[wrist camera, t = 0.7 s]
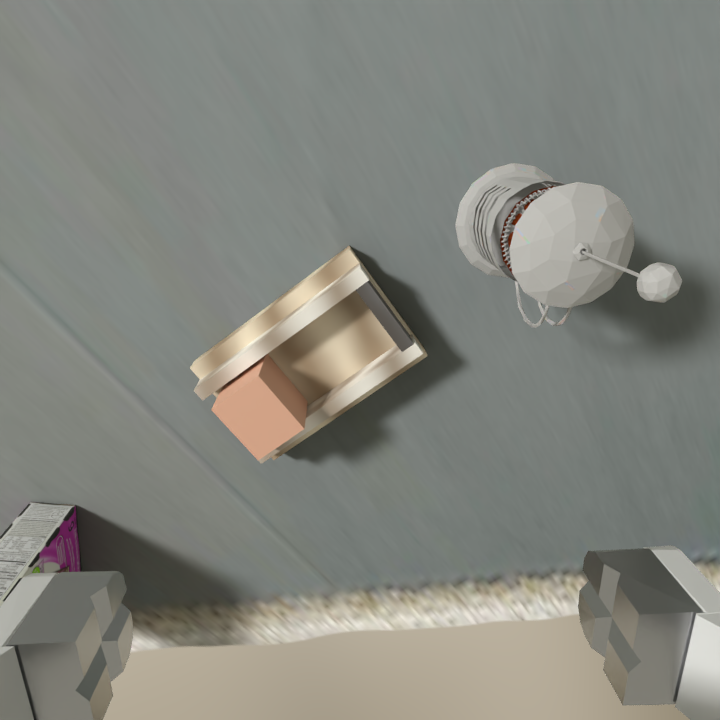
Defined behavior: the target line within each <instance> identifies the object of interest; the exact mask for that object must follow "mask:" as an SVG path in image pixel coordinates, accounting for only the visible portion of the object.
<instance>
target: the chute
mask: <svg viewBox="0 0 720 720" xmlns="http://www.w3.org/2000/svg"><path fill="white" fill-rule="evenodd" d="M266 354H268V355H269V356H270V357H271V359H272V360H273V361H274V362H275V363H276V365H277V366H278V367H279V368H280V369H281V370H282V372H283V373H284V374H285V375H286V376H287V377H288V379H289V380H290V381H291V382H292V383H293V385H294V386H295V387H296V388H297V389H298V390H299V392H300V393H301V394H302V395H303V396H304V398H305V399H306V400H307V401H308V404H307V412H306V420H305V428H304V430H302V431H301V432H299V433H298V434H296V435H295V436H293V437H292V438H290V439H289V440H288V441H286V442H285V443H283V444H282V445H280V446H279V447H277V448H276V449H274V450H273V451H271V452H270V453H268V454H267V455H266V456H264V457H263V458H261V459H260V460H258V461H259V462H260V463H261V464H262V463H263V462H265V461H266V460H268V459H269V458H272V459H273V460H275V459H277V458H278V457H279V456H281V455H282V454H284V453H285V452H287V451H288V450H290V449H291V448H293V447H294V446H296V445H297V444H299V443H300V442H302V441H303V440H305V439H306V438H307V437H309V436H310V435H312V434H313V433H315V432H316V431H318V430H319V429H321V428H322V427H324V426H325V425H327V424H328V423H330V422H331V421H333V420H334V419H335V418H337V417H338V416H340V415H341V414H343V413H344V412H346V411H347V410H349V409H350V408H352V407H353V406H355V405H356V404H358V403H359V402H361V401H362V400H364V399H365V398H366V397H368V396H369V395H371V394H372V393H374V392H375V391H377V390H378V389H380V388H381V387H383V386H384V385H386V384H387V383H389V382H390V381H392V380H393V379H394V378H396V377H397V376H399V375H400V374H402V373H403V372H405V371H406V370H408V369H409V368H411V367H412V366H414V365H415V364H417V363H418V362H420V361H421V360H422V359H424V358H425V357H427V356H428V355H427V353H426V351H425V348H424V347H423V346H422V344H421V343H420V342H419V340H418V339H417V337H416V336H415V335H414V333H413V332H412V331H411V329H410V328H409V327H408V325H407V324H406V322H405V321H404V320H403V318H402V317H401V316H400V314H399V313H398V311H397V310H396V309H395V307H394V306H393V305H392V303H391V302H390V301H389V299H388V298H387V296H386V295H385V294H384V292H383V291H382V290H381V288H380V287H379V285H378V284H377V283H376V281H375V280H374V279H373V277H372V276H371V275H370V273H369V272H368V270H367V269H366V268H365V266H364V265H363V264H362V262H361V261H360V260H359V258H358V257H357V255H356V254H355V253H354V251H353V250H352V249H351V247H350V246H348V247H347V248H346V249H344V250H343V251H342V252H340V253H339V254H337V255H336V256H335V257H333V258H332V259H331V260H329V261H328V262H327V263H325V264H324V265H323V266H321V267H320V268H319V269H317V270H316V271H315V272H313V273H312V274H311V275H309V276H308V277H307V278H305V279H304V280H302V281H301V282H300V283H298V284H297V285H296V286H294V287H293V288H292V289H290V290H289V291H288V292H286V293H285V294H284V295H282V296H281V297H280V298H278V299H277V300H276V301H274V302H273V303H272V304H270V305H269V306H268V307H266V308H265V309H263V310H262V311H261V312H259V313H258V314H257V315H255V316H254V317H253V318H251V319H250V320H249V321H247V322H246V323H245V324H243V325H242V326H241V327H239V328H238V329H237V330H235V331H234V332H233V333H231V334H230V335H228V336H227V337H226V338H224V339H223V340H222V341H220V342H219V343H218V344H216V345H215V346H214V347H212V348H211V349H210V350H208V351H207V352H206V353H204V354H203V355H202V356H200V357H199V358H198V359H196V360H195V361H194V363H193V364H192V366H191V367H190V369H191V370H192V371H193V372H194V373H195V374H196V375H197V376H198V378H199V379H200V381H199V382H198V384H197V386H196V387H195V389H194V391H195V393H196V394H197V395H198V396H199V397H200V398H201V399H202V400H204V399H206V398H207V397H208V396H210V395H211V394H212V393H213V394H214V395H215V396H216V397H218V395H219V393H220V391H221V389H222V387H223V386H224V385H225V384H226V383H228V382H229V381H230V380H232V379H233V378H235V377H236V376H237V375H239V374H240V373H242V372H243V371H244V370H246V369H247V368H248V367H250V366H251V365H253V364H254V363H255V362H257V361H258V360H259V359H261V358H262V357H264V356H265V355H266Z"/></svg>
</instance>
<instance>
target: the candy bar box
mask: <svg viewBox="0 0 720 720" xmlns="http://www.w3.org/2000/svg"><path fill="white" fill-rule="evenodd" d="M60 572H81V563H80V552H79V540H78V529H77V518H76V506H75V505H68V504H48V503H34V502H30V503H29V504H28V505H27V507H26V508H25V509H24V510H23V511H22V512H21V513H20V515H19V516H18V517H17V518H16V519H15V520H14V521H13V522H12V524H11V525H10V526H9V527H8V528H7V529H6V531H5V532H4V533H3V534H2V535H1V536H0V606H1V605H2V604H3V603H4V601H5V600H6V599H7V597H8V596H9V595H10V594H11V592H12V591H13V590H14V588H15V587H16V586H17V584H18V583H19V582H20V581H21V579H22V578H23V577H25V576H27V575H29V574H31V573H60Z"/></svg>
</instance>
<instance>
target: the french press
mask: <svg viewBox="0 0 720 720" xmlns="http://www.w3.org/2000/svg"><path fill="white" fill-rule="evenodd" d="M455 226H456V231H457V237H458V242H459V247H460V248H461V250H462V251H463V253H464V254H465V256H466V257H467V259H468V260H469V262H470V263H471V264H472V265H473V266H475V267H477V268H478V269H480V270H481V271H483V272H485V273H486V274H488V275H494V276H501V277H508V278H509V277H510V278H511V279H513V280H515V284H516V292H517V301H518V307H519V310H520V312H521V314H522V316H523V318H524V321H525V322H527V323H528V324H529V325H530V326H531V327H538V326H539V325H540V324H541V323H542V322H543V321H544V319H545V320H546V321H548V322H549V323H550V324H551V325H553V326H559V325H561V324H563V323H564V322H565V321H566V319H567V318H568V317H569V315H570V312H571V309H572V307H574V306H578V305H582V304H586V303H590V302H592V301H594V300H595V299H597V298H598V297H600V296H601V295H603V294H604V293H606V292H607V291H609V290H610V289H611V288H612V287H613V286H614V285H615V283H616V282H617V281H618V279H619V278H620V277H621V275H622V274H623V273H624V271H625V272H627V273H629V274H632V275H634V276H636V277H638V280H637V291H638V293H639V294H640V296H641V297H642V298H644V299H645V300H647V301H654V302H661V303H663V302H666V301H668V300H669V299H671V298H672V297H674V296H675V295H677V294H678V292H679V289H680V286H681V283H682V279H681V277H680V275H679V273H678V271H677V269H676V268H675V267H674V266H673V265H669V264H666V263H659V262H658V263H654V264H650V265H649V266H648V267H646V268H645V269H644V270H642V271H641V272H640V273H637V272H635V271H632V270H630V269H627V266H628V263H629V260H630V257H631V254H632V251H633V248H634V244H635V243H634V229H633V219H632V217H631V215H630V214H629V212H628V210H627V208H626V206H625V205H624V203H623V201H622V199H620V198H619V197H617V196H616V195H615V194H613V193H612V192H610V191H609V190H607V189H606V188H605V187H603V186H599V185H593V184H587V183H581V182H576V183H572V184H567V185H566V184H564V183H562V182H556V181H554V179H553V178H552V177H550V176H549V175H547V174H546V173H544V172H543V171H541V170H540V169H538V168H537V167H535V166H529V165H523V164H516V163H512V164H508V165H504V166H501V167H497V168H493V169H491V170H489V171H488V172H487V173H485V174H484V175H483V176H481V177H480V178H479V179H477V180H476V181H475V182H473V183H472V185H471V186H470V188H469V189H468V191H467V193H466V194H465V196H464V197H463V199H462V201H461V202H460V205H459V210H458V215H457V220H456V225H455ZM518 283H519V285H520V286H521V288H522V289H523V291H524V293H526V294H528V295H529V296H531V297H533V298H534V299H536V300H537V301H538V305H539V308H540V310H541V313H542V315H543V316H542V318H541V319H540V321H539V322H538V323H537V324H532V323H531V322H530V320H529V319H528V318H527V317H526V315H525V313H524V310H523V308H522V304H521V299H520V294H519V285H518ZM542 304H544V305H546V307H545V311H544V309H543V307H542ZM549 306H556V307H563V308H568V309H567V313H566V315H565V316H564V317H563V319H562V320H561V321H559V322H553V321H552V320H550V319H549V318H548V316H547V312H548V308H549Z"/></svg>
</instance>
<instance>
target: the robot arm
mask: <svg viewBox="0 0 720 720" xmlns="http://www.w3.org/2000/svg"><path fill="white" fill-rule="evenodd" d="M583 571H584V573H585V575H586V576H587V578H588V580H589V581H588V582H587V583H586V584H585V586H584V587H583V588H582V589H581V590H580V593H579V604H578V608H579V615H580V622H581V625H582V628H583V632H584V634H585V637H586V639H587V641H588V642H589V644H590V646H591V648H593V649H594V650H595V651H597V652H598V653H599V654H601V655H602V656H604V657H605V662H604V669H603V670H604V672H605V674H606V676H607V677H608V679H609V681H610V683H611V685H612V687H613V688H614V690H615V692H616V694H617V696H618V697H619V699H620V701H621V703H622V705H659V704H676V705H675V707H676V708H677V709H678V710H680V711H681V712H682V713H683V714H684V715H686V716H687V717H688V718H689V719H690V720H720V592H719V591H718V590H717V589H716V588H715V587H714V586H713V585H712V584H711V583H710V582H709V580H708V579H707V578H706V577H705V576H704V575H703V574H702V573H701V572H700V571H699V570H698V569H697V568H696V566H695V565H694V564H693V563H692V562H691V561H690V560H689V559H688V558H687V557H686V556H685V555H684V553H683V552H682V551H681V550H680V549H678V548H676V547H674V546H672V545H671V546H657V547H644V548H638V549H618V550H597V551H588V552H587V554H586V556H585V558H584V564H583ZM126 591H127V589H126V584H125V580H124V576H123V574H122V573H120V572H119V571H91V572H60V573H31V574H29V575H27V576H25V577H23V578H22V579H21V581H20V582H19V583H18V584H17V586H16V587H15V588H14V590H13V591H12V592H11V594H10V595H9V596H8V597H7V599H6V600H5V601H4V603H3V604H2V605H1V606H0V720H103V718H104V715H105V713H106V711H107V708H108V706H109V704H110V701H111V699H112V697H113V693H112V687H111V681H112V680H113V679H115V678H116V677H117V676H118V675H119V674H120V673H122V672H123V670H124V668H125V665H126V662H127V660H128V658H129V654H130V649H131V644H132V639H133V622H132V616H131V611H130V610H129V609H128V608H127V607H125V606H124V605H123V604H122V603H121V601H122V599H123V597H124V595H125V593H126Z"/></svg>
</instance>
